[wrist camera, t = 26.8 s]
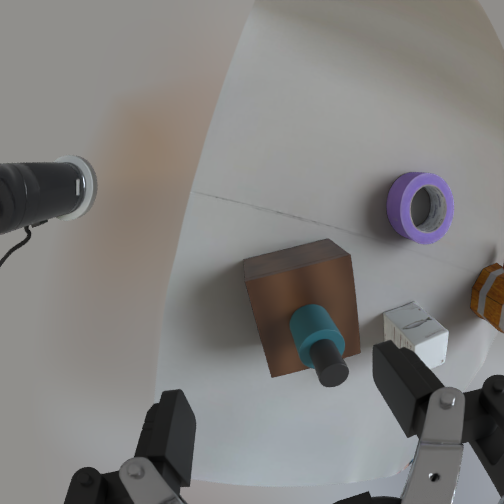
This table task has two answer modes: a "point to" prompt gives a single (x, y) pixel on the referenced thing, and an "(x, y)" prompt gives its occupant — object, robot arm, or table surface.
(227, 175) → the table surface
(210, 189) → the table surface
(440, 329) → the white packaging box
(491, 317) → the mug
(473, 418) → the robot arm
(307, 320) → the teal and black cylinder
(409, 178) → the tape roll
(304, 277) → the brown wooden box
